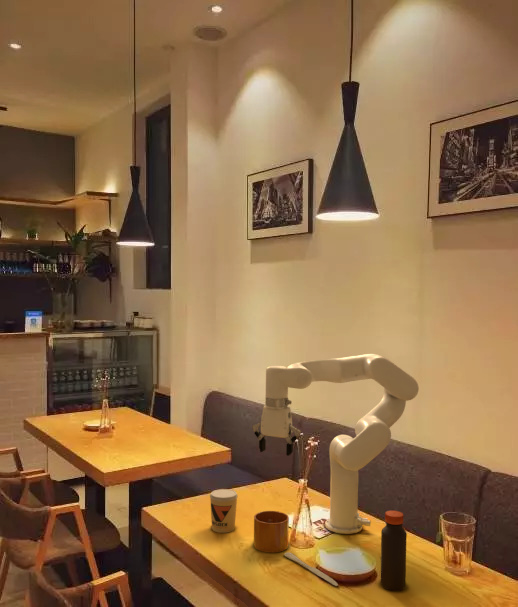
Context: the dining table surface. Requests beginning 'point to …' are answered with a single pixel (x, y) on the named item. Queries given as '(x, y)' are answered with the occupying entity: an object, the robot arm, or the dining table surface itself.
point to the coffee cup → (223, 510)
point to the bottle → (393, 552)
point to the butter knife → (310, 568)
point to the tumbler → (271, 531)
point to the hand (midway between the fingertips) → (275, 452)
